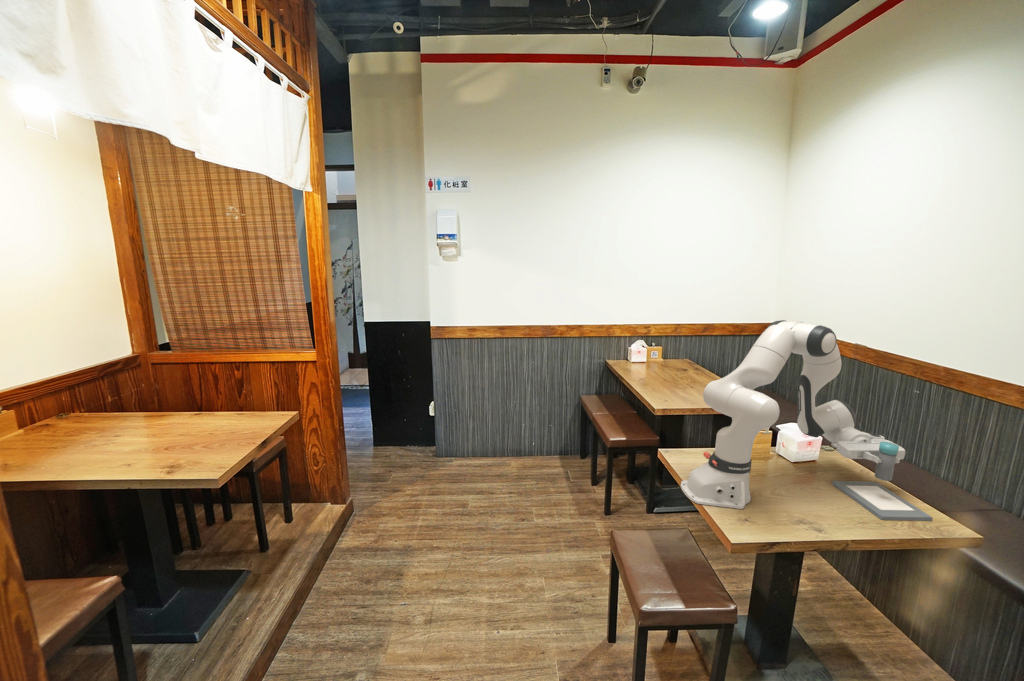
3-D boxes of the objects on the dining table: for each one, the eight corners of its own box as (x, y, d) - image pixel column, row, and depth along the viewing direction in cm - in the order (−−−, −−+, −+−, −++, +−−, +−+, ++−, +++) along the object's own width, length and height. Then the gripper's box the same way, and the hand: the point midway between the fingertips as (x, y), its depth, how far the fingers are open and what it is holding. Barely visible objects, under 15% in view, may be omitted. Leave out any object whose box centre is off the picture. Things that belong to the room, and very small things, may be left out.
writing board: (881, 519, 137) (882, 515, 137) (831, 483, 159) (832, 480, 159) (931, 520, 137) (932, 516, 137) (875, 484, 159) (876, 481, 158)
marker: (881, 481, 144) (888, 447, 142) (870, 474, 149) (876, 441, 146) (896, 481, 144) (903, 447, 142) (884, 474, 149) (890, 441, 146)
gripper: (829, 434, 157) (859, 451, 144) (886, 435, 157) (921, 452, 144) (826, 450, 158) (855, 469, 145) (882, 451, 158) (917, 470, 145)
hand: (888, 461), depth 144 cm, fingers closed on marker, 4 cm apart
